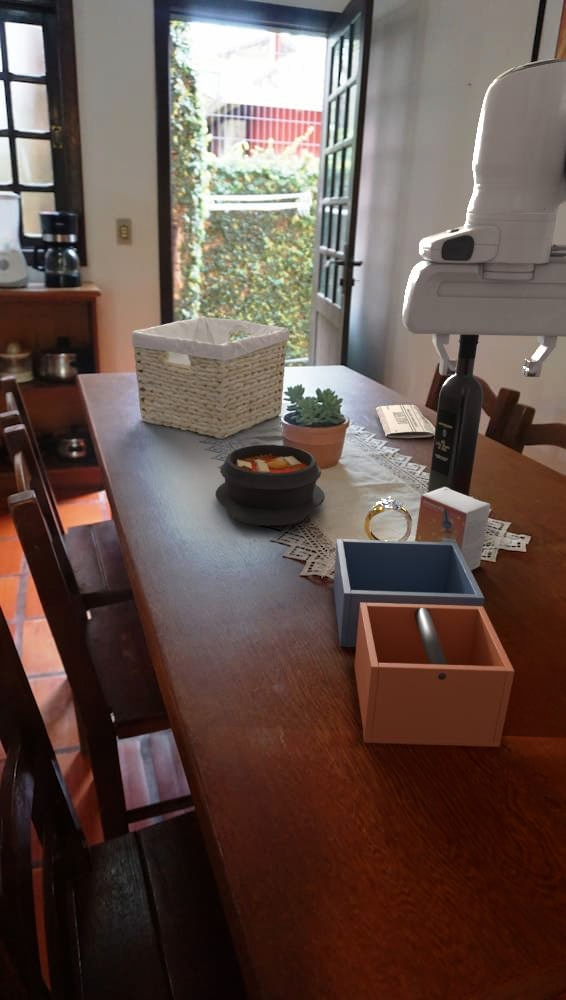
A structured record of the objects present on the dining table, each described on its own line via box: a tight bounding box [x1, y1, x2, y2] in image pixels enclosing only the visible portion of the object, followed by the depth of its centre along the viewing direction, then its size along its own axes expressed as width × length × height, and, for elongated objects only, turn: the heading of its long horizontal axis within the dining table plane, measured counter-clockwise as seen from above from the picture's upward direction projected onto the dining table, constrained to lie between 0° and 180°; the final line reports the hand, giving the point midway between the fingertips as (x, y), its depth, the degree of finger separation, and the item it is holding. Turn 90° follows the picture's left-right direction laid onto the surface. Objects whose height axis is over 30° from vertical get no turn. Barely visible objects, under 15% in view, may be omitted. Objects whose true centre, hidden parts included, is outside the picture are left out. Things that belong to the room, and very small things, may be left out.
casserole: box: [215, 444, 326, 527], centre depth 115 cm, size 25×19×8 cm
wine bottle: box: [426, 335, 484, 497], centre depth 114 cm, size 6×6×30 cm
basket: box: [131, 315, 290, 440], centre depth 158 cm, size 27×27×22 cm
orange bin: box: [354, 603, 515, 748], centre depth 69 cm, size 13×11×9 cm
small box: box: [414, 487, 491, 571], centre depth 97 cm, size 8×6×10 cm
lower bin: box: [332, 538, 485, 648], centre depth 83 cm, size 16×14×8 cm
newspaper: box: [375, 404, 435, 439], centre depth 163 cm, size 23×12×2 cm, turn 179°
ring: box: [363, 496, 413, 541], centre depth 102 cm, size 7×3×8 cm, turn 73°
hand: (488, 375), depth 77 cm, fingers open, 8 cm apart
